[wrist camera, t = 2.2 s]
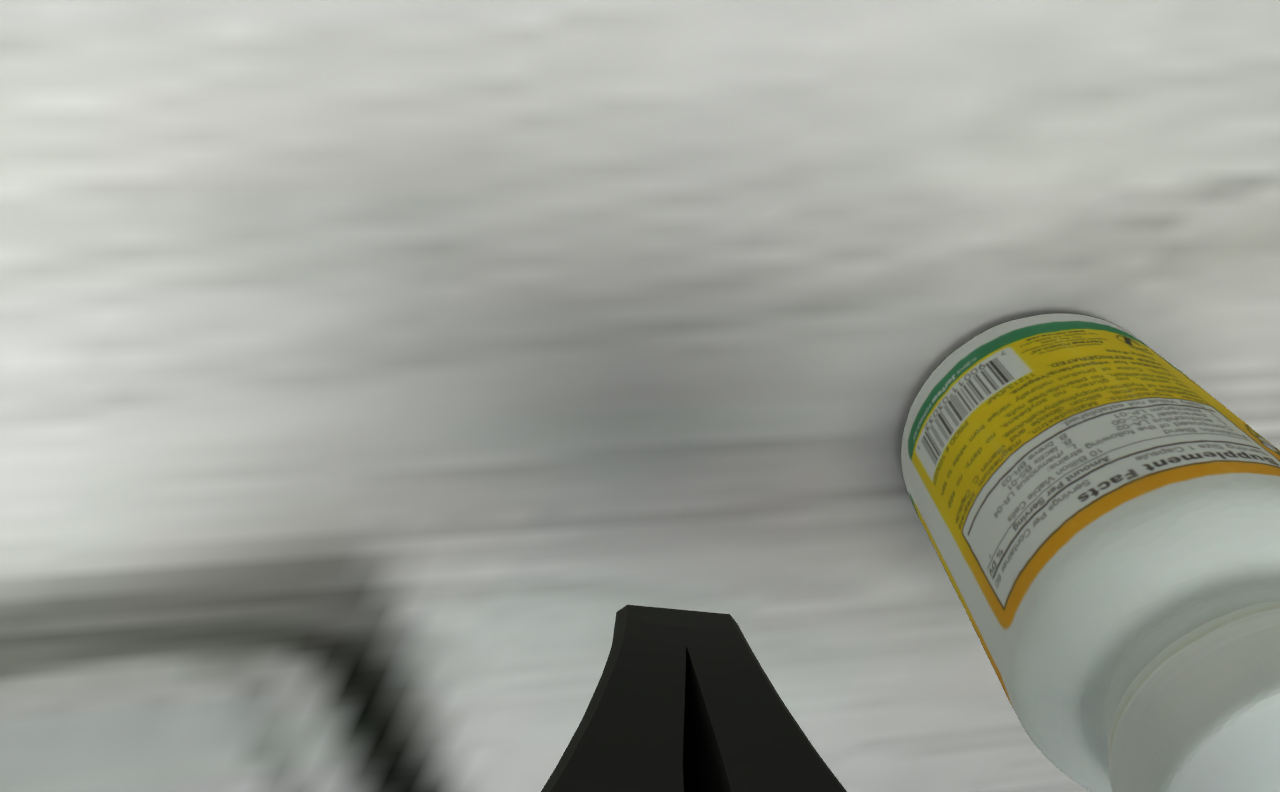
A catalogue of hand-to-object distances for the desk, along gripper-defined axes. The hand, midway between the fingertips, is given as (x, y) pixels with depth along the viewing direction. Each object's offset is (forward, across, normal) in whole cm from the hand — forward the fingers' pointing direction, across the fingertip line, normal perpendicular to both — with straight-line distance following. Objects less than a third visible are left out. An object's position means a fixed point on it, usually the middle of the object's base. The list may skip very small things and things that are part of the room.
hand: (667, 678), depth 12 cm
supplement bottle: (+9, -8, 0) cm, 11 cm away
